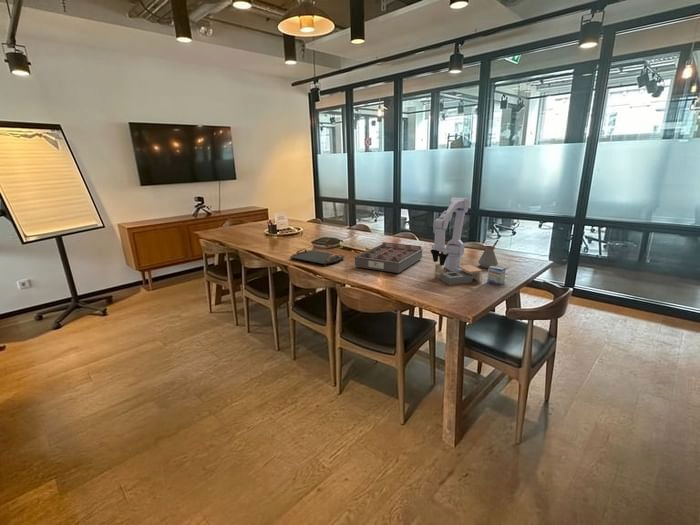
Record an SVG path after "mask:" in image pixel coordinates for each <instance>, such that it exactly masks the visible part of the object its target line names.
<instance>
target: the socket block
mask: <svg viewBox="0 0 700 525" xmlns="http://www.w3.org/2000/svg"><path fill="white" fill-rule="evenodd" d="M440 280H441V281H443V282H444V283H445V284H447V285H449V286H453V285H455V286H456V285H462V284H469V283H473V280H474V279H473V275H471V274H469V273H468V272H466V271H464V270H460V271H445V272H442V273H441V279H440Z"/></svg>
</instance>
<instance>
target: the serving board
mask: <svg viewBox="0 0 700 525" xmlns="http://www.w3.org/2000/svg"><path fill="white" fill-rule="evenodd" d="M289 258H291V259H290V260H292V261H294V260H301V261H305V262H311V263H316V264H321V265H323V267H327V266H328V264H333V263H336V262H339V261H344V258H345V255H341V254H337V253H329V252H325V251H324V252H323V251H318V250H314V249H313V250H311V249H310V250H307V249H306V248H299V249H298V250H297V251H295V253H294V254H291V256H289Z"/></svg>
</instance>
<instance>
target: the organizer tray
mask: <svg viewBox="0 0 700 525" xmlns="http://www.w3.org/2000/svg"><path fill="white" fill-rule="evenodd" d="M423 251H424V248H422V246H421V245H414V244H405V243H404V244H403V243H396V242H386V241H382V244H379V245H377V246H375V247H373V248H370V249H368V250H365V251H364V252H361V253H360V254H357V255H354V256H353V258H354V266H355V268H362V269H363V268H364V269H370V270H376V271H383V272H389V273H396V274H399V273H401V272H403V271H404V270H405V269H407V268H409V267H411V266H412V265H413V264H415V263H417V262H418V261H420V260H421V259H423Z"/></svg>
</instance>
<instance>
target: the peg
mask: <svg viewBox="0 0 700 525" xmlns="http://www.w3.org/2000/svg"><path fill="white" fill-rule="evenodd" d="M434 266H435V267H434V268H435V270H434V279H436V280H441V273H443V272H442V270H443V265H440V263H436V264H435V265H434Z"/></svg>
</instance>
